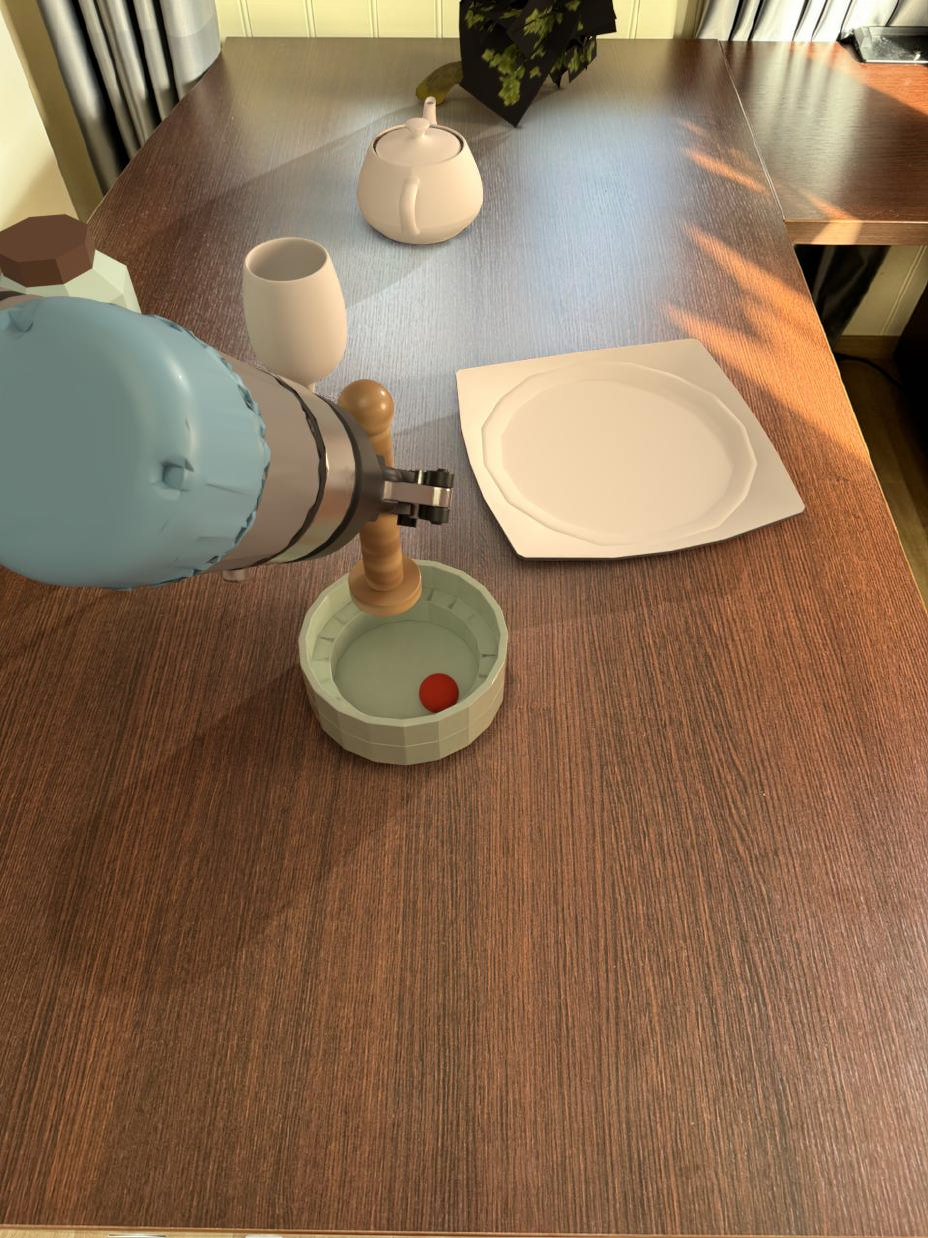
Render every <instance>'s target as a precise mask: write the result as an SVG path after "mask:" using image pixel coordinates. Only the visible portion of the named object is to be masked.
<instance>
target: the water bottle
mask: <svg viewBox="0 0 928 1238" xmlns="http://www.w3.org/2000/svg"><path fill="white" fill-rule="evenodd" d="M0 270H1V275H0V287H3V288H7V289H11V290H14V291H17V292H20V293H24V294H27V295H28V294H33V295H39V296H44V297H53V296H71V297H81V298H87V299H92V300H96V301H99V302H105V303H112V304H117V305H119V306H122V307H124V308H127V309H129V310H132V311H134V312H137V313H140V314H143V313H142V310H141V308H140V305H139V300H138V298H137V295H136V292H135V288H134V284H133V282H132V279H131V277H130V272H129V270H128V267H127V265H125V264H124V263H121V262H120V261H118V260H116V259H115V258H113V257H111V256H109V255H107V254H105V253H103V252H101V251H99V250H97V249H96V246H95V242H94V239H93V236H92V232H91V228H90V225H89V224H88V223H86V222H84V221H81V220H79V219H78V218H75V217H73V216H71V215H68V214H66V213H61V214H59V213H58V214H48V215H37V216H28V217H25V218H24V219H22V220H20V221H18V222H16V223H14V224H13V225H11V226H8V227H7V228H4V229H2V230H0Z"/></svg>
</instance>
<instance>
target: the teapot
mask: <svg viewBox="0 0 928 1238" xmlns="http://www.w3.org/2000/svg"><path fill="white" fill-rule="evenodd" d="M436 107H437V105H436V100H435V98H434V97H428V98H427V99H426V100H425V101H424V103H423V110H422V116H421V117H412V118H409V119H407V120H406V121H405V123H403V124H397V125H395V126H391V127H388V128H386V129H384V130H382V131H381V132H378V133H377V134H376V135H375V136H374V137H373V138H372V139H371V141H370V143H369V145H368V148H367V151H366V153H365V156H364V160H363V162H362V165H361V168H360V172H359V175H358V180H357V181H358V182H357V188H356V201H357V205H358V209H359V211H360V214H361V215H362V217H363V218H364V219H365V221H366V222H367V223H368V224H369V225H370V226H372V228H374V229H375V230H376V231H378V232H380V233H381V234H382V235H384V236H385V237H387V238H389V239H390V240H393V241H396V242H399V243H404V244H412V245H428V244H436V243H437V244H438V243H442V242H444V241H447V240H450V239H453V238H454V237H456V236H458V235H459V234H461V232H462V231H463V230H464V229H466V228H468V226H470V224H471V223H472V222H474V220H475V219H476V218H477V217H478V215H479V213H480V210H481V208H482V206H483V201H484V189H483V181H482V176H481V174H480V171H479V168H478V166H477V163H476V161H475V158H474V155H473V153H472V151H471V149H470V146H469V144H468V143H467V141H466V139H465V137H464V136H463V135H462V134H461V133H460V132H458V131H456V129H453V128H451V127H448V126H444V125H441V124H438V123H437V116H436V115H437V114H436Z"/></svg>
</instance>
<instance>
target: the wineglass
mask: <svg viewBox="0 0 928 1238" xmlns="http://www.w3.org/2000/svg"><path fill="white" fill-rule="evenodd" d="M242 304H243V306H242V307H243V316H244V321H245V326H246V331H247V334H248V338H249V341H250V344H251V348H252V350H253V353H254V355H255V356H256V359H257V360H258V361H259V363H260V364H261V365H262V366H263V367H264V369H265V370H268V371H270V372H273V373H275V374H277V375H279V376H282V377H284V378H286V379H288V380H291V381H293V382H295V383H298V384H300V385H302V386H304V387H306V388H307V389H308V390H310V391H311V392H313V393H315V394H316V383H318V382H320V381H322V380H323V379H325V378H326V377H328V376H329V375H330V374H331V373H332V372H334V370H335V369H336V368H337V367H338V365H339V364H340V363H341V361H342V359H343V357H344V354H345V352H346V348H347V344H348V319H347V318H348V317H347V311H346V305H345V299H344V295H343V291H342V286H341V284H340V280H339V278H338V274H337V272H336V269H335V266H334V264H333V260H332V257H331V256H330V254H329V252H328V250H327V249H326V248H325V247H324V246H323V245H322V244H320V243H319V242H316V241H314V240H311V239H308V238H304V237H296V236H295V237H292V236H290V237H289V236H288V237H279V238H273V239H270V240H266V241H264V242H262V243H260V244H258V245H256V246H254V247H253V248H252V249H250V250H249V251H248V253H247V254H246V256H245V257H244V260H243V265H242Z"/></svg>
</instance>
